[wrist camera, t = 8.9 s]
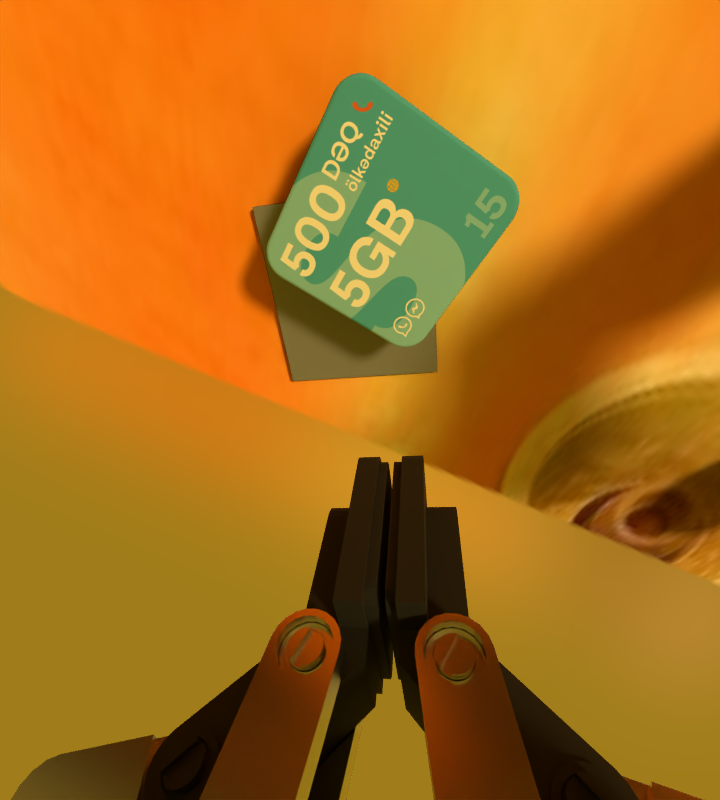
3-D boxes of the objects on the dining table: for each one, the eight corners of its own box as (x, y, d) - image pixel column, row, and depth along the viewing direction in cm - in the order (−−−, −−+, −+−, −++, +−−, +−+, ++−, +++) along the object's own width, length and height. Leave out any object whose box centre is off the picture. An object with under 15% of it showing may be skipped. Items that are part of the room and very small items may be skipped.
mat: (431, 183, 27) (431, 184, 27) (436, 369, 35) (437, 371, 34) (254, 206, 29) (252, 207, 29) (294, 378, 36) (293, 381, 36)
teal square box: (411, 357, 29) (257, 264, 26) (411, 332, 33) (276, 250, 30) (533, 193, 23) (348, 56, 21) (515, 187, 27) (357, 71, 24)
